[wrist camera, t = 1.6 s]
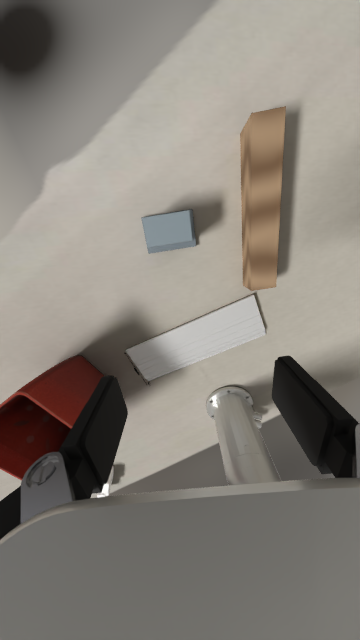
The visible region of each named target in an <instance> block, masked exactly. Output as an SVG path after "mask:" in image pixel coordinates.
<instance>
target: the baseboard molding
mask: <svg viewBox="0 0 360 640" xmlns="http://www.w3.org/2000/svg"><path fill="white" fill-rule="evenodd" d="M263 335H266V333H265V327H264V325H263V321H262V319H261V315H260V312H259V309H258V306H257V303H256V300H255V297H254V295H253V294H252V295H250V296H247V297H245V298H243V299H240V300H238V301H236V302H234V303H231V304H229V305H227V306H224V307H222V308H220V309H218V310H215V311H213V312H211V313H209V314H206V315H204V316H202V317H199V318H197V319H195V320H193V321H190V322H188V323H186V324H183V325H181V326H179V327H177V328H174V329H172V330H170V331H167V332H165V333H163V334H161V335H158V336H156V337H154V338H151V339H149V340H147V341H145V342H142V343H140V344H138V345H135V346H133V347H131V348H129V349H126V352H127V354H128V355H129V356H130V358H131V359H132V361H133V362H134V363H135V365H136V367H137V368H138V369H139V371H140V372H141V373H142V375H143V377H144V378H145V379H147V380H148V381H150V380H152V379H155V378H158V377H160V376H163V375H165V374H168V373H170V372H173V371H175V370H178V369H180V368H183V367H185V366H188V365H190V364H193V363H195V362H198V361H200V360H203V359H205V358H208V357H210V356H213V355H216V354H218V353H221V352H223V351H226V350H228V349H231V348H233V347H236V346H238V345H241V344H243V343H246V342H248V341H251V340H253V339H256V338H258V337H261V336H263ZM127 357H128V356H127ZM129 360H130V359H129ZM131 363H132V362H131ZM134 367H135V366H134ZM134 369H135V368H134ZM135 371H136V372H137V369H135ZM137 373H138V375H139V372H137ZM141 377H142V376H141ZM143 380H144V379H143ZM145 383H146V382H145ZM148 385H150V384H149V382H148Z"/></svg>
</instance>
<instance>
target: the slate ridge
mask: <svg viewBox="0 0 360 640" xmlns="http://www.w3.org/2000/svg"><path fill="white" fill-rule="evenodd" d="M142 223H143V228H144V233H145V238H146V243H147V248H148V253H149V254H150V253H156V252H162V251H168V250H175V249H181V248H187V247H194V246H196V241H195V231H194V222H193V212H192V209H190V210H184V211H178V212H172V213H166V214H160V215H154V216H148V217H142Z"/></svg>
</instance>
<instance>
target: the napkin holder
mask: <svg viewBox="0 0 360 640" xmlns="http://www.w3.org/2000/svg"><path fill="white" fill-rule="evenodd" d="M113 473H114V466H112V469H111V473H110V476H109V479H108V482H107V483H106V484H104V486H103V489H102V492H101V493H98V494H97V498H99V497H106V496H108V495H109V491H110V487H111V484H112V480H113Z"/></svg>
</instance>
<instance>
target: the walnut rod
mask: <svg viewBox="0 0 360 640" xmlns="http://www.w3.org/2000/svg"><path fill="white" fill-rule="evenodd" d="M285 111H286V106H285V107H280V108H275V109H271V110H266V111H261V112H256V113H252V114H251V115H250V117H249V119H248V121H247V123H246V124H245V126H244V128H243V130H242V132H241V134H240V141H241V196H242V251H243V286H245V287H246V288H248V289H250V290H251V291H253V290H260V289H267V288H273V287H276V279H277V261H278V242H279V223H280V205H281V186H282V167H283V149H284V130H285Z"/></svg>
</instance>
